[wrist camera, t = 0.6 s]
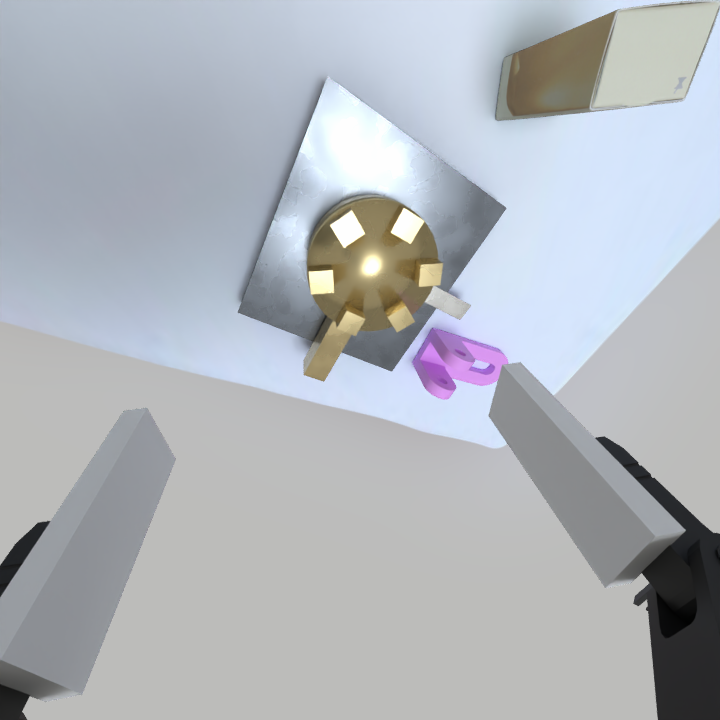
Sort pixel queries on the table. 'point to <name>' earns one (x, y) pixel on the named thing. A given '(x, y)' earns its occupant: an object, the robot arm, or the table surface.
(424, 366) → the bracket
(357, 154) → the base plate
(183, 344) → the table surface
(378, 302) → the brass notched disc handle
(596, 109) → the skincare box
